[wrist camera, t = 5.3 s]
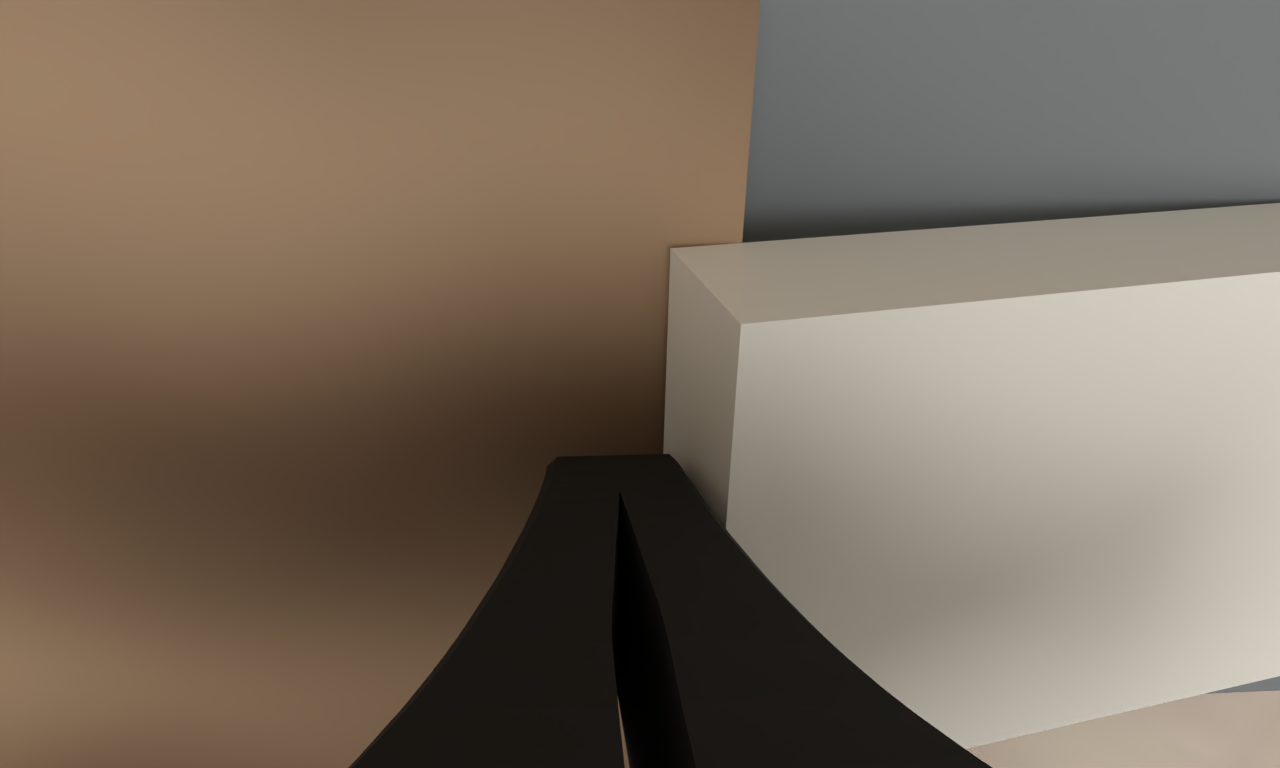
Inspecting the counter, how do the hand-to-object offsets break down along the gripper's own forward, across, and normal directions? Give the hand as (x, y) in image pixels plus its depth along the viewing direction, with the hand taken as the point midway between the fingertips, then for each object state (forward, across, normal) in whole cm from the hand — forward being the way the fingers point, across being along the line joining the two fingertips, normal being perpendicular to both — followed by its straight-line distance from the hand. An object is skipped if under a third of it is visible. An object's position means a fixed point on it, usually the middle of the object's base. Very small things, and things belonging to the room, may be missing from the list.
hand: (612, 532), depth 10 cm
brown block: (+3, +4, 0) cm, 5 cm away
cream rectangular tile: (+2, -5, 0) cm, 5 cm away
